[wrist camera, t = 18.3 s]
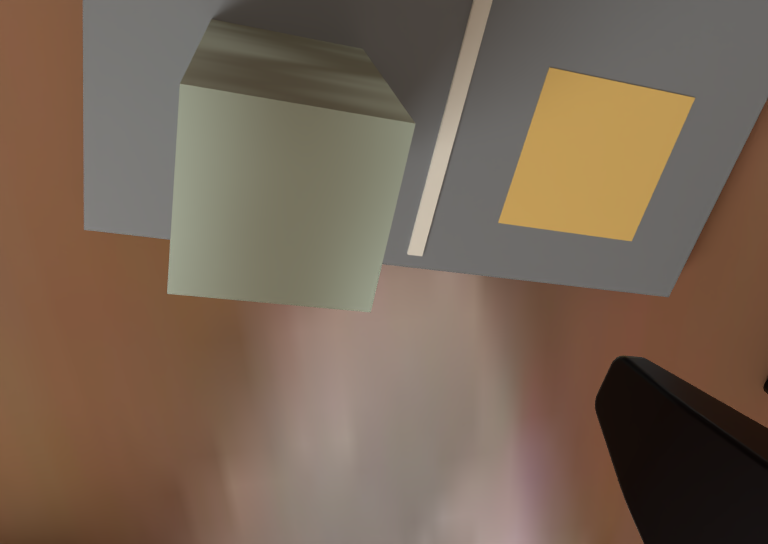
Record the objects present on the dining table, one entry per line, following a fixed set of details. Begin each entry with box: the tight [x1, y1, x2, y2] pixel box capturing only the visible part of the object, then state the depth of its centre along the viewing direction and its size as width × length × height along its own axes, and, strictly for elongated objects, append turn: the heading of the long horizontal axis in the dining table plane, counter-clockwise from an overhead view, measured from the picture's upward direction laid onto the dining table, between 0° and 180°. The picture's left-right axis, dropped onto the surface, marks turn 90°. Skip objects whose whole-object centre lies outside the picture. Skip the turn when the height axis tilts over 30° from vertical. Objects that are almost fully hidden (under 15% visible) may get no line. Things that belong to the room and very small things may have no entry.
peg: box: [167, 19, 415, 312], centre depth 15 cm, size 4×4×7 cm
